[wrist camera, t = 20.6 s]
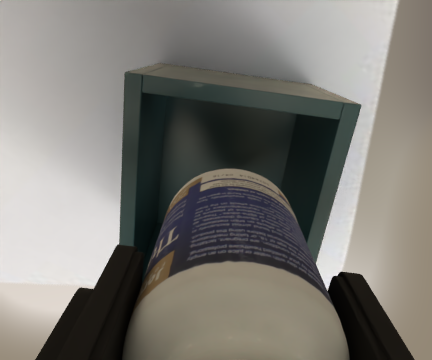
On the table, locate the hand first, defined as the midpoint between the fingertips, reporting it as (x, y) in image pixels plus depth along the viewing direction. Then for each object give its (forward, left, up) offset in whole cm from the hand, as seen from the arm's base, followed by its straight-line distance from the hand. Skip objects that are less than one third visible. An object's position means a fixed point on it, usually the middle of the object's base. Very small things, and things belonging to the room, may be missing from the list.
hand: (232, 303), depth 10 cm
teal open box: (+1, 0, -16) cm, 16 cm away
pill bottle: (0, 0, -5) cm, 5 cm away
